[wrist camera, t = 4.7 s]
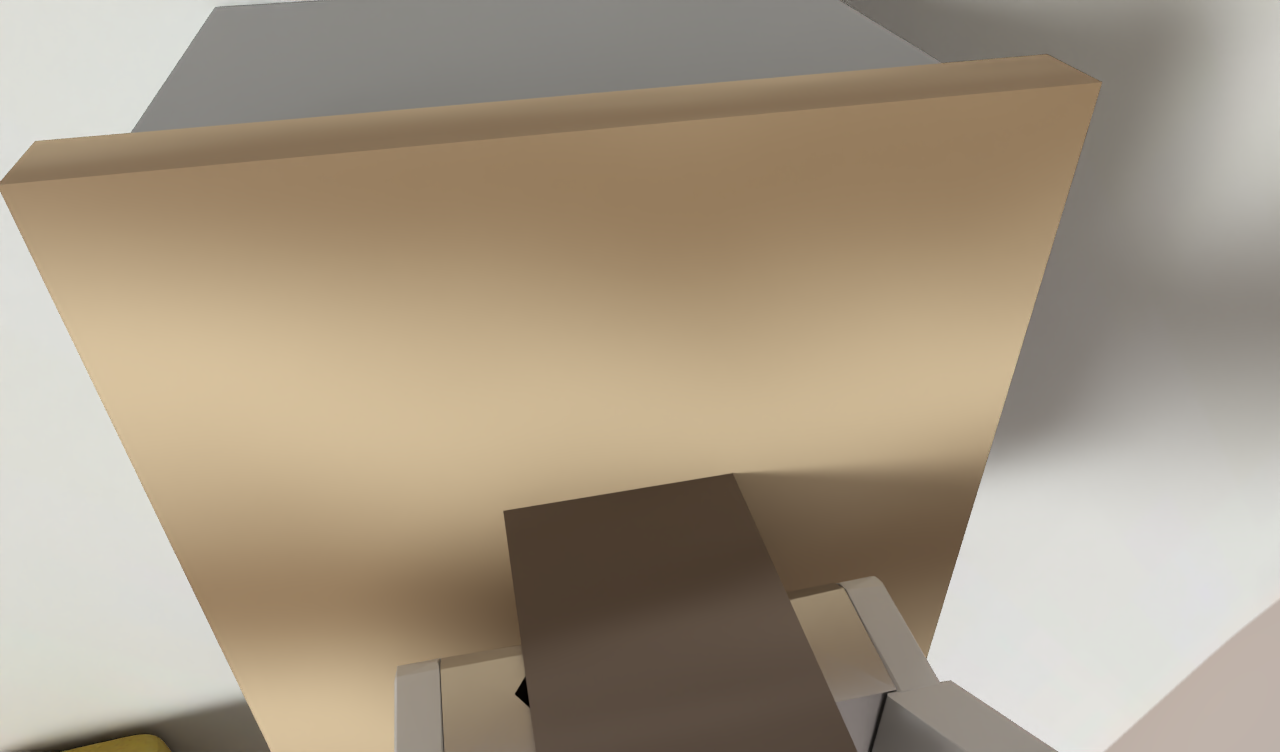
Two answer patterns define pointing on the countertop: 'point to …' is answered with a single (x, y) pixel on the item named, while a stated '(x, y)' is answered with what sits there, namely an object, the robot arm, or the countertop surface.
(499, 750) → the robot arm
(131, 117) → the countertop surface
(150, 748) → the flower pot
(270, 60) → the box
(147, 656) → the countertop surface
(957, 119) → the lid
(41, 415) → the countertop surface
